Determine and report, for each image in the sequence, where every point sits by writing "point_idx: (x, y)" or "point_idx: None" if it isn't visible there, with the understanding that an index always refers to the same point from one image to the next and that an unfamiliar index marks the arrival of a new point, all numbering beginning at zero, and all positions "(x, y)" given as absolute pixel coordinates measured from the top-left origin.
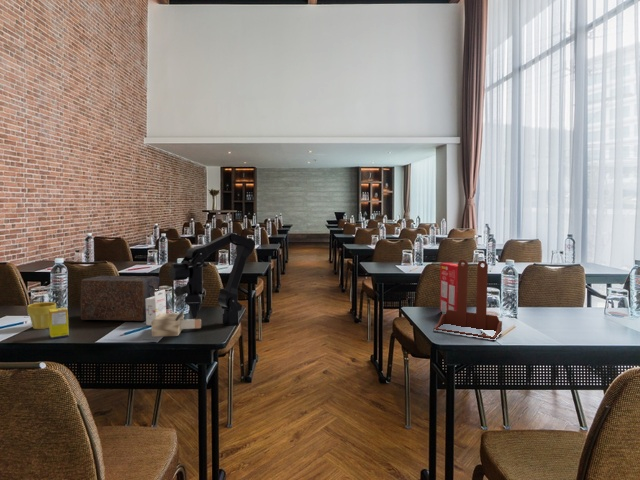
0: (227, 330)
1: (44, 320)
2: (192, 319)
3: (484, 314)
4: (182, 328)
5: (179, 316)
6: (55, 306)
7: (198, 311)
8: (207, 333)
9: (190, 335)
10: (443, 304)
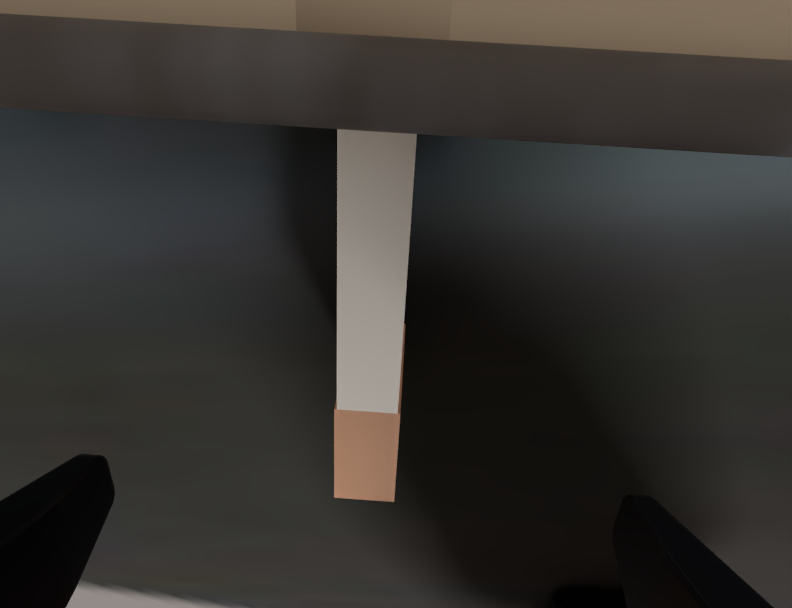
0: (335, 603)
1: None
2: (375, 370)
3: None
4: None
5: (120, 111)
6: None
7: (622, 567)
8: (223, 444)
9: (122, 257)
10: None
